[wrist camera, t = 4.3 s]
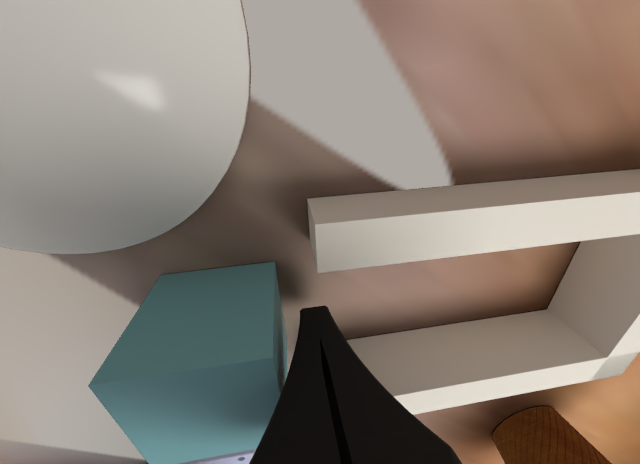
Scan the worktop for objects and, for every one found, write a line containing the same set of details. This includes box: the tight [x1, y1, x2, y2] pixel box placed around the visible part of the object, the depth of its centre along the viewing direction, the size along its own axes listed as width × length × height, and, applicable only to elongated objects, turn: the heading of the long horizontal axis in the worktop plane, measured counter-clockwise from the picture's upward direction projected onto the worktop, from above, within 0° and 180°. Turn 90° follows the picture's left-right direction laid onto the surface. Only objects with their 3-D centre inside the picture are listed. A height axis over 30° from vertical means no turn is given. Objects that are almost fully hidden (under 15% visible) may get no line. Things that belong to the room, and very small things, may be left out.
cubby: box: [307, 169, 640, 415], centre depth 13 cm, size 17×11×4 cm, turn 93°
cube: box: [89, 262, 288, 464], centre depth 11 cm, size 5×5×5 cm
